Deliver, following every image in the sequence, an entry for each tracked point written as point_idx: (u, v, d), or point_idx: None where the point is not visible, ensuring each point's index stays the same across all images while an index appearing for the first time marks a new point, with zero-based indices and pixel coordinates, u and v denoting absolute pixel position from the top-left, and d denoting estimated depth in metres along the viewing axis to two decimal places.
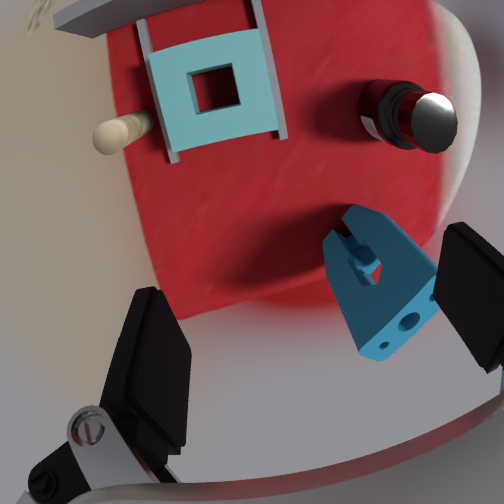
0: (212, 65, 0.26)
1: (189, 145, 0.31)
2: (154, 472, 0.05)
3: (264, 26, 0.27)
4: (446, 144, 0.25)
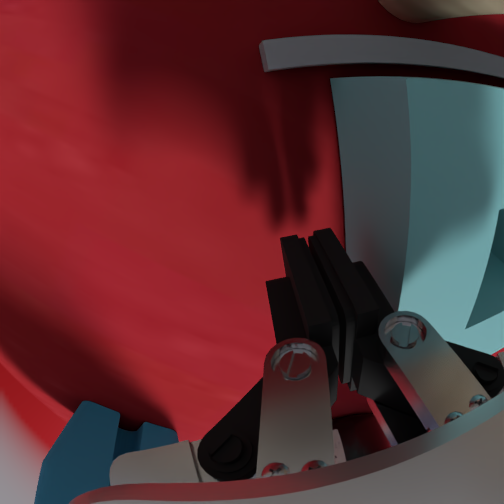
0: None
1: (422, 169, 0.06)
2: None
3: None
4: None
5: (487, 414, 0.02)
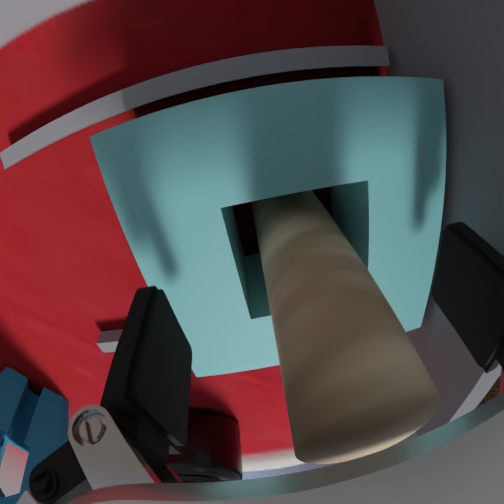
0: (371, 252, 0.11)
1: (116, 190, 0.09)
2: (155, 471, 0.05)
3: None
4: None
5: (487, 414, 0.02)
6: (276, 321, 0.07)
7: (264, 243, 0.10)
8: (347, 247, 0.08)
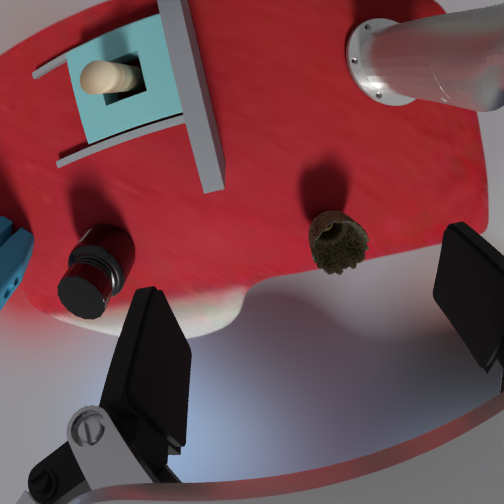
0: (143, 73, 0.25)
1: (70, 67, 0.23)
2: (154, 472, 0.05)
3: (152, 130, 0.32)
4: (72, 310, 0.32)
5: (487, 414, 0.02)
6: None
7: None
8: None
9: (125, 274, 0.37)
